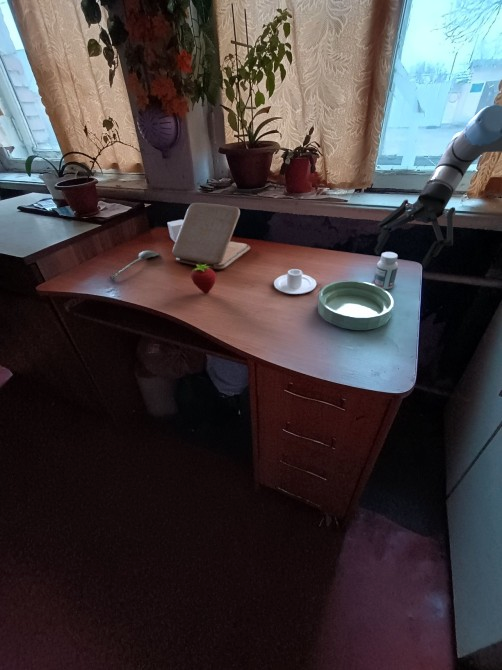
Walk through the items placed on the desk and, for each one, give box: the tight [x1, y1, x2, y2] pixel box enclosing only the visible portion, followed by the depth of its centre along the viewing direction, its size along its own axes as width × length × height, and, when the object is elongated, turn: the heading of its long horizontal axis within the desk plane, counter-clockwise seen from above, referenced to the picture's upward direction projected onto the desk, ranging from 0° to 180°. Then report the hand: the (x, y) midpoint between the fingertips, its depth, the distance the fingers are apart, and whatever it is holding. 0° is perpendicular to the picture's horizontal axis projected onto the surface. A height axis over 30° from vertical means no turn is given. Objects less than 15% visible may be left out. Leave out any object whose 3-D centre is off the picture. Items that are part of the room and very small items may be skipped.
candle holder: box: [273, 268, 317, 295], centre depth 88 cm, size 12×12×4 cm
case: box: [171, 202, 251, 271], centre depth 104 cm, size 20×21×16 cm
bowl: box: [316, 280, 395, 331], centre depth 76 cm, size 17×17×4 cm
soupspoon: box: [109, 249, 160, 282], centre depth 104 cm, size 22×3×7 cm
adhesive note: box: [167, 219, 184, 243], centre depth 122 cm, size 6×6×6 cm
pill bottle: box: [372, 251, 399, 290], centre depth 84 cm, size 5×5×9 cm
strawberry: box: [190, 264, 217, 295], centre depth 85 cm, size 6×8×10 cm
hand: (398, 258), depth 87 cm, fingers open, 13 cm apart
